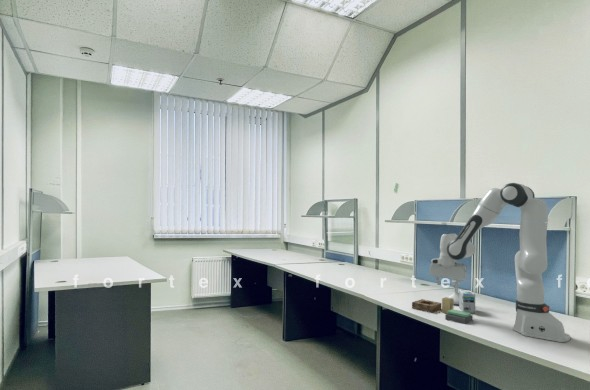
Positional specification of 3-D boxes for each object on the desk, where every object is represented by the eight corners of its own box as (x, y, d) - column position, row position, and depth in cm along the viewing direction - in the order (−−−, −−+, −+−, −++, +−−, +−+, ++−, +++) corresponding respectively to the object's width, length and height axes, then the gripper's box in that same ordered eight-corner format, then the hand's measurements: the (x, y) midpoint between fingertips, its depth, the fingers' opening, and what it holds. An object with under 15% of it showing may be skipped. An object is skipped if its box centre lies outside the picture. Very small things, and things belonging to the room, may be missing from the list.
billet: (453, 313, 209) (453, 298, 209) (449, 314, 206) (450, 299, 206) (445, 311, 212) (445, 297, 213) (442, 312, 209) (442, 298, 210)
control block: (472, 320, 196) (472, 315, 196) (464, 323, 189) (464, 318, 189) (453, 316, 203) (453, 311, 203) (445, 319, 196) (445, 314, 196)
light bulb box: (475, 313, 209) (475, 294, 210) (462, 312, 211) (463, 293, 211) (470, 308, 220) (470, 290, 220) (458, 307, 221) (458, 289, 222)
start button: (471, 318, 194) (471, 313, 194) (466, 321, 190) (466, 315, 190) (452, 314, 201) (452, 309, 202) (447, 316, 197) (447, 311, 197)
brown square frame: (441, 309, 217) (441, 303, 217) (431, 312, 209) (431, 306, 209) (422, 305, 226) (422, 299, 226) (412, 308, 217) (412, 302, 218)
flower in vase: (459, 306, 223) (459, 264, 224) (442, 302, 232) (442, 262, 233) (471, 304, 231) (471, 263, 232) (453, 300, 240) (454, 261, 241)
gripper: (469, 263, 205) (468, 288, 205) (433, 258, 220) (432, 282, 220) (464, 264, 201) (463, 290, 200) (428, 259, 216) (427, 283, 215)
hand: (447, 286), depth 210 cm, fingers open, 8 cm apart
